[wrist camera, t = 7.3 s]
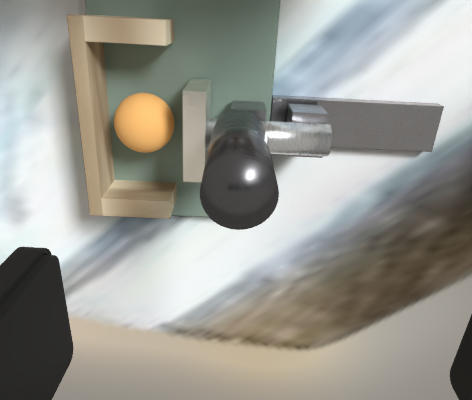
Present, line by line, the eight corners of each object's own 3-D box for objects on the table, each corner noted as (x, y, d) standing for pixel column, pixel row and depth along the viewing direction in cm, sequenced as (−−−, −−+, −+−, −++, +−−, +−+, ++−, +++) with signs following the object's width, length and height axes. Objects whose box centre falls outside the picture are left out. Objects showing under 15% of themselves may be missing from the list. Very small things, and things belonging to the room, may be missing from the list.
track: (438, 103, 26) (443, 106, 26) (426, 148, 28) (431, 151, 27) (272, 95, 26) (273, 97, 25) (268, 140, 27) (269, 143, 27)
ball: (140, 102, 21) (98, 92, 23) (143, 165, 23) (104, 151, 24) (186, 94, 24) (145, 85, 26) (186, 151, 25) (148, 139, 27)
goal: (174, 19, 23) (165, 20, 21) (176, 198, 28) (170, 218, 25) (86, 14, 23) (66, 15, 21) (104, 195, 28) (90, 215, 25)
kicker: (323, 85, 25) (383, 137, 14) (312, 162, 27) (358, 256, 17) (191, 78, 24) (158, 126, 14) (190, 157, 27) (161, 247, 16)
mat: (278, 0, 24) (280, -1, 23) (260, 212, 30) (261, 219, 29) (90, -11, 24) (84, -11, 23) (110, 205, 30) (106, 212, 29)
